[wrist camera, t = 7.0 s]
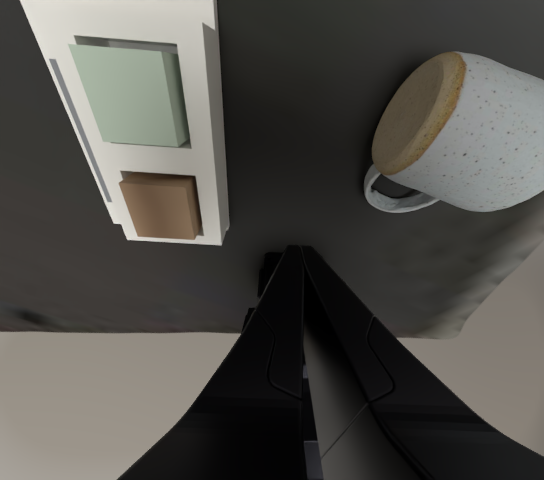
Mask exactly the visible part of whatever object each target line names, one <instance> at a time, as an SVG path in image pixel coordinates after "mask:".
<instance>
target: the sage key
mask: <svg viewBox="0 0 544 480" xmlns="http://www.w3.org/2000/svg"><path fill="white" fill-rule="evenodd" d="M68 46H69V48H70V51H71V54H72V57H73V60H74V62H75V65H76V68H77V71H78V73H79V76H80V79H81V82H82V85H83V87H84V90H85V93H86V96H87V98H88V101H89V104H90V107H91V109H92V112H93V115H94V118H95V121H96V123H97V126H98V129H99V132H100V134H101V137H102V140H103V142H115V143H129V144H143V145H158V146H172V147H179V146H180V145H181V144H182V143H184V142H185V141H186V140H188V139H189V138H190V133H189V126H188V119H187V112H186V105H185V98H184V91H183V84H182V77H181V70H180V63H179V56H178V54H173V53H167V52H161V51H149V50H137V49H124V48H112V47H100V46H87V45H75V44H68Z"/></svg>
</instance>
